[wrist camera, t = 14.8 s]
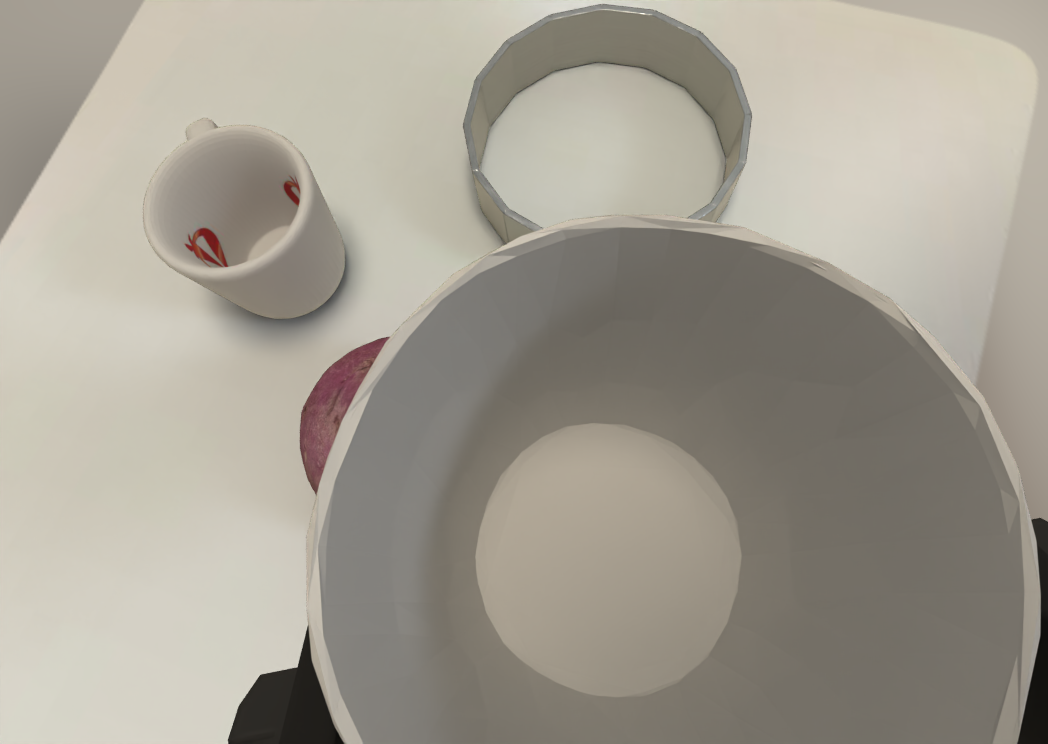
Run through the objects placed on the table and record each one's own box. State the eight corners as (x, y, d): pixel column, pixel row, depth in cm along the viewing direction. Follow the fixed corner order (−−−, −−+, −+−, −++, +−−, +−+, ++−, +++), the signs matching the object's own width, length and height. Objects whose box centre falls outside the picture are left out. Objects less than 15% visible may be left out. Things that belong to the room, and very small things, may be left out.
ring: (693, 36, 40) (706, -19, 37) (763, 251, 36) (787, 214, 32) (456, 85, 40) (445, 35, 37) (500, 305, 36) (492, 274, 32)
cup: (188, 213, 39) (96, 128, 31) (308, 151, 40) (246, 53, 32) (258, 362, 36) (176, 309, 29) (387, 293, 37) (339, 221, 29)
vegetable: (538, 421, 38) (641, 335, 24) (449, 591, 34) (507, 610, 20) (377, 328, 37) (382, 183, 23) (268, 492, 33) (197, 439, 19)
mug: (476, 366, 19) (396, 164, 10) (790, 419, 18) (1047, 256, 9) (365, 866, 16) (68, 1329, 6) (746, 962, 15) (1090, 1678, 5)
